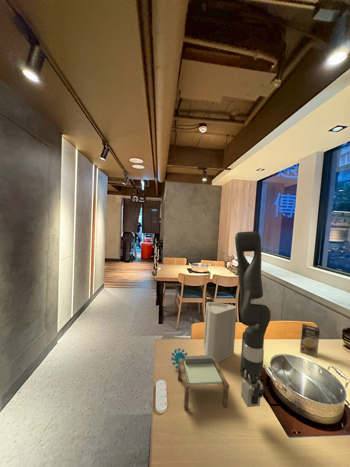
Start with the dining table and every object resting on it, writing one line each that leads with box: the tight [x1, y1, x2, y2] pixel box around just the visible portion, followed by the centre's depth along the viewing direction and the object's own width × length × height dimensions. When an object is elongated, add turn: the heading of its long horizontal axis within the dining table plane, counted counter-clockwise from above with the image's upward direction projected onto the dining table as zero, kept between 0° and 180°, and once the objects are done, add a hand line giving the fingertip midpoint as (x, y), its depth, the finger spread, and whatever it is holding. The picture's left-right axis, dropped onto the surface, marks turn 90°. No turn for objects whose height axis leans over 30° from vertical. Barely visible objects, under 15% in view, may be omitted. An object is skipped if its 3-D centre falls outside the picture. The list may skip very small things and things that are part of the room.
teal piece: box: [170, 348, 188, 370], centre depth 112 cm, size 11×6×10 cm
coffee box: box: [299, 323, 320, 358], centre depth 130 cm, size 9×6×16 cm
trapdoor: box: [184, 354, 222, 386], centre depth 94 cm, size 14×14×4 cm
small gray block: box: [240, 378, 261, 408], centre depth 81 cm, size 5×5×7 cm
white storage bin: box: [203, 301, 238, 363], centre depth 124 cm, size 19×15×28 cm
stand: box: [177, 358, 230, 411], centre depth 94 cm, size 18×18×10 cm
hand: (250, 397), depth 82 cm, fingers closed on small gray block, 5 cm apart
